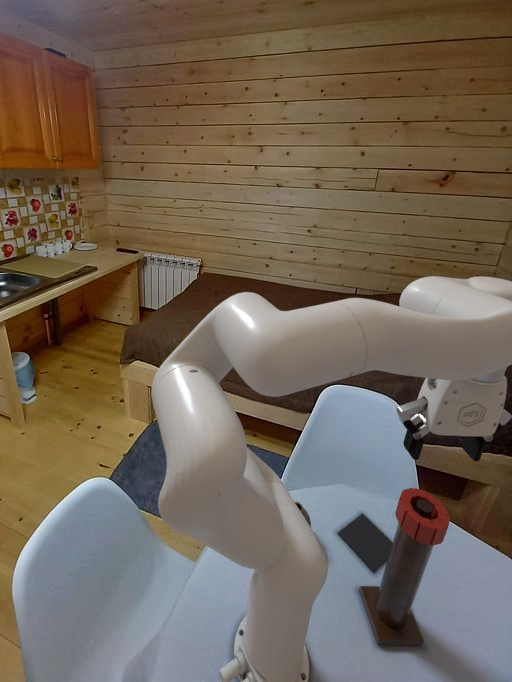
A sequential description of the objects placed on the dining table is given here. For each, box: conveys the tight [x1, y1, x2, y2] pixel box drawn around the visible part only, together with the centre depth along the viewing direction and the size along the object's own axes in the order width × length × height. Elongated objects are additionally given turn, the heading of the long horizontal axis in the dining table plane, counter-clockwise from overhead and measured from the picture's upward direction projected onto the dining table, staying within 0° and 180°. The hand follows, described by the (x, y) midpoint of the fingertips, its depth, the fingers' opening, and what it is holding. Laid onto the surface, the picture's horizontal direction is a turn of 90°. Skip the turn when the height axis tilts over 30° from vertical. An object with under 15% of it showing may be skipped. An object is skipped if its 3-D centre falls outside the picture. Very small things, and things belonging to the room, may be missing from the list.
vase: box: [294, 501, 312, 529], centre depth 76 cm, size 7×7×9 cm
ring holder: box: [358, 499, 434, 646], centre depth 59 cm, size 8×8×29 cm
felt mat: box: [337, 513, 393, 573], centre depth 77 cm, size 9×9×1 cm
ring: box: [394, 487, 451, 547], centre depth 55 cm, size 7×7×4 cm
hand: (439, 453), depth 55 cm, fingers open, 9 cm apart
